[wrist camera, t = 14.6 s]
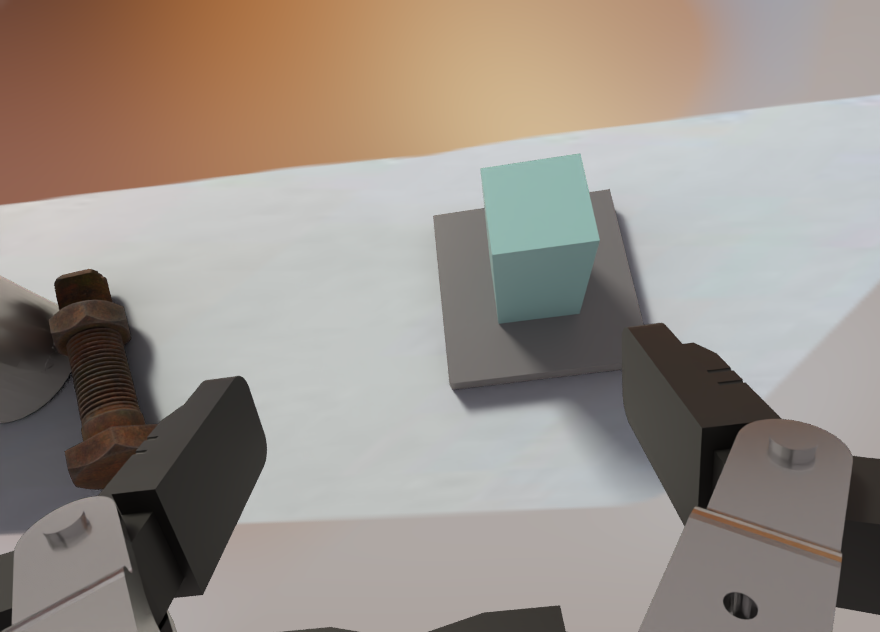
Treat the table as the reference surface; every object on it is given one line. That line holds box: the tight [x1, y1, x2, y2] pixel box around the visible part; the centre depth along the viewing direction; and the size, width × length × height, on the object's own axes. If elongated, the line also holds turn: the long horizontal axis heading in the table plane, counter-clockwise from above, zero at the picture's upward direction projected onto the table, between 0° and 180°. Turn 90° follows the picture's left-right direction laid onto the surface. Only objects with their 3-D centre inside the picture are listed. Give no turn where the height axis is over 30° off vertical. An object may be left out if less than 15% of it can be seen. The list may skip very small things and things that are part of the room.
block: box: [481, 154, 600, 324], centre depth 30 cm, size 5×5×9 cm
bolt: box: [49, 269, 158, 490], centre depth 36 cm, size 6×5×15 cm
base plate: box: [433, 189, 644, 390], centre depth 34 cm, size 12×12×4 cm
